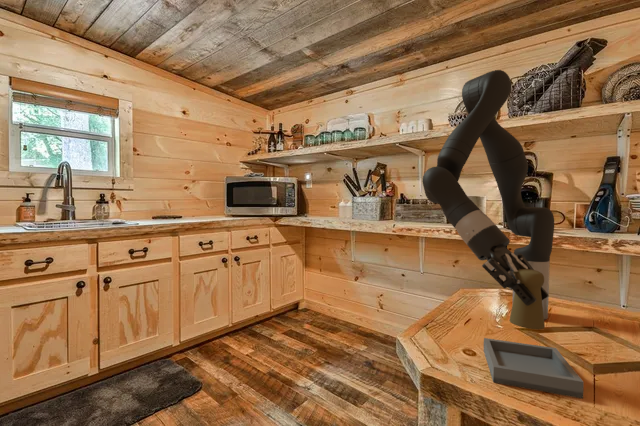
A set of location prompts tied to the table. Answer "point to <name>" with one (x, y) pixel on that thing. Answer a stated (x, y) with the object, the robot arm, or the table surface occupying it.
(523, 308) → the cork
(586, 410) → the table surface
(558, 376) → the tray
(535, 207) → the robot arm
